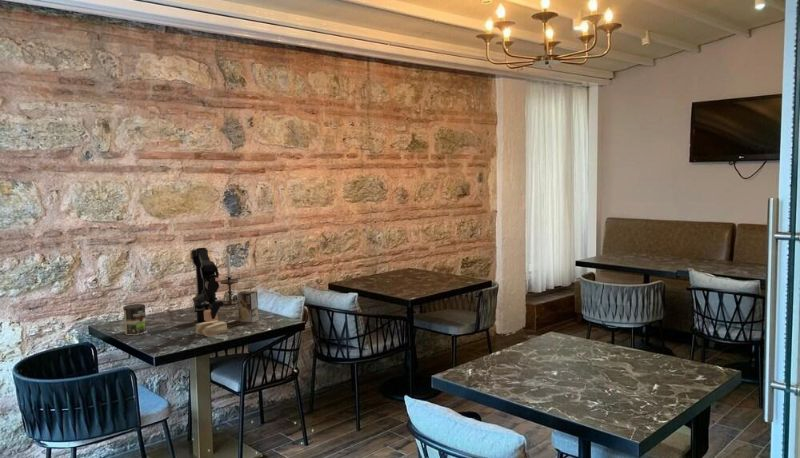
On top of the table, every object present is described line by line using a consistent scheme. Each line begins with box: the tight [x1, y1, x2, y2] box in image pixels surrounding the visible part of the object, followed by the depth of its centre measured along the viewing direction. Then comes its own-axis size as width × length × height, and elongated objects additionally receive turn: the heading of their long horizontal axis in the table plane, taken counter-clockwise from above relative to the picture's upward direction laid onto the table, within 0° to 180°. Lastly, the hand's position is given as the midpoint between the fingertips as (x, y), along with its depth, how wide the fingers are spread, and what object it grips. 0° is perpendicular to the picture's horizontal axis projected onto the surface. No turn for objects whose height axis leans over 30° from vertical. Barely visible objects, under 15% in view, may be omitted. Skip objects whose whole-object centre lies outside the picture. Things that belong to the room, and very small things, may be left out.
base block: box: [195, 320, 228, 338], centre depth 297 cm, size 11×11×5 cm
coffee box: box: [237, 290, 260, 323], centre depth 318 cm, size 9×6×16 cm
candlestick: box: [219, 248, 239, 306], centre depth 358 cm, size 11×11×35 cm
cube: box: [204, 310, 219, 322], centre depth 296 cm, size 5×5×5 cm
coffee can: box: [123, 303, 148, 336], centre depth 297 cm, size 10×10×14 cm
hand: (210, 318), depth 296 cm, fingers closed on cube, 5 cm apart
